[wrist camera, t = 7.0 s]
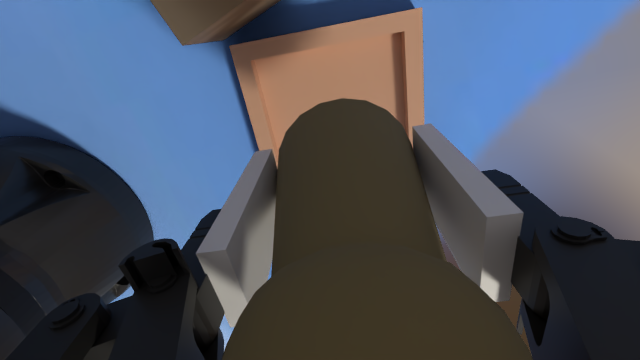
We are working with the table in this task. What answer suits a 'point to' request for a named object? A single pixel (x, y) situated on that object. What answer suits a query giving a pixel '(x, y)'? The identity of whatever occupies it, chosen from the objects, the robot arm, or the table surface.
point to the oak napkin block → (209, 17)
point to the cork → (362, 255)
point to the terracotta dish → (333, 72)
